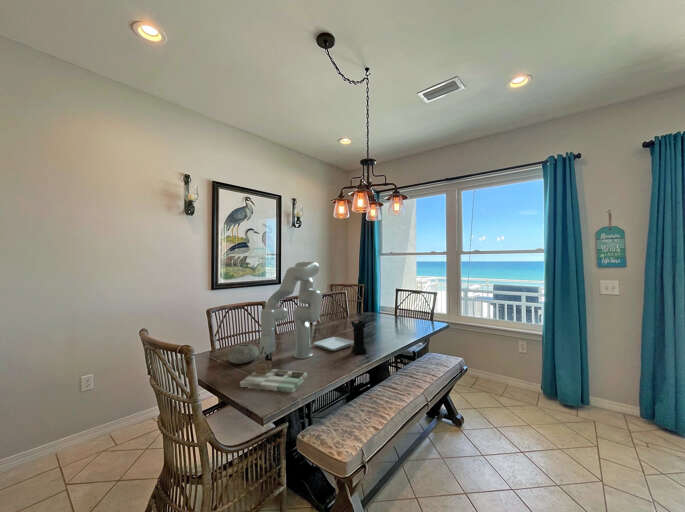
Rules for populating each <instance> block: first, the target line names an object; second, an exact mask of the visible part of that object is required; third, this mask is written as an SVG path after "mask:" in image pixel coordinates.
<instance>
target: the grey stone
mask: <svg viewBox="0 0 685 512" xmlns="http://www.w3.org/2000/svg"><path fill="white" fill-rule="evenodd" d="M259 354H260V351H259V349H258V347H257V346H256V345H254V344H250V343H247V344H237V345H235V346H233V347H232V348H230V350H229V352H228V353H227V359H228V361H229V362H230V363H233V364H239V365H240V364H246V363H248V362H251V361H254V360H255V359H257V358H258V357H259Z"/></svg>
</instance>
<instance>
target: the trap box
mask: <svg viewBox="0 0 685 512" xmlns="http://www.w3.org/2000/svg"><path fill="white" fill-rule="evenodd" d="M307 378H308V371H307V372H306V371H297V370H286V369H285V370H284V369H278V368H277V369H275V368H272V370H271V371H270V372H269V373H267V374H266V375H263V374H256V373H255V371H253V372H252V373H251V374H249V375H247V376H246V377H245V378H244V379H242V380H241V381H239V387H240V386H241V387H240V388H242V387H248V388H247V389H251V388H257V389H256V390H260V389H264V390H263V391H269V390H273V391H272V392H278V391H281V392H280V393H287V392H289V394H293V393H294V392H295V391H296V390H297V389H298V388H299V386H300V385H302V384H303V382H304V381H306V379H307Z"/></svg>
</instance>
